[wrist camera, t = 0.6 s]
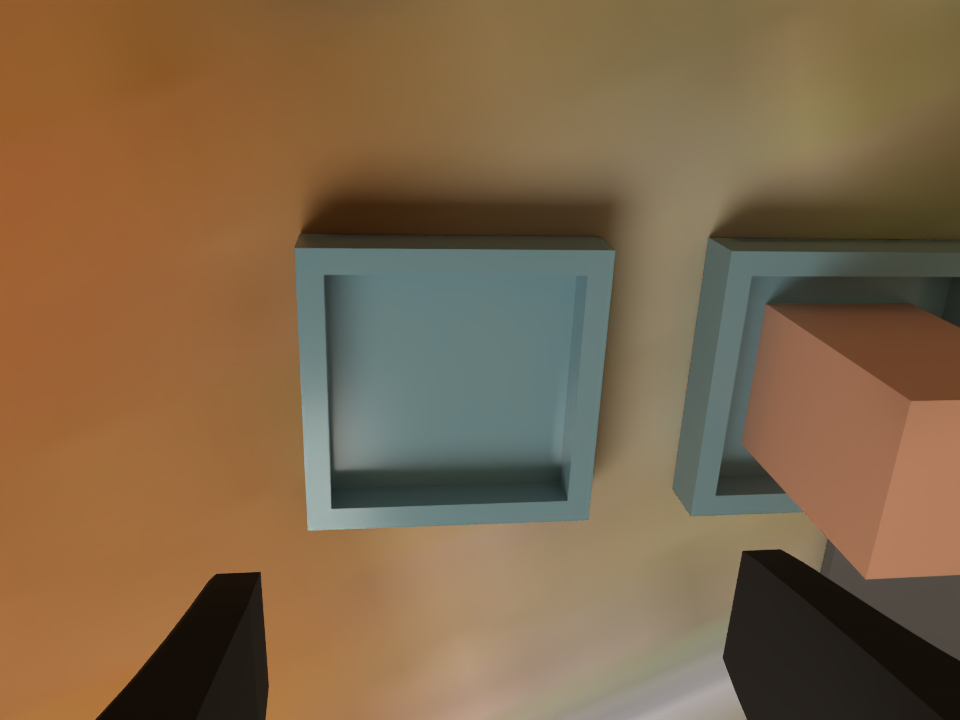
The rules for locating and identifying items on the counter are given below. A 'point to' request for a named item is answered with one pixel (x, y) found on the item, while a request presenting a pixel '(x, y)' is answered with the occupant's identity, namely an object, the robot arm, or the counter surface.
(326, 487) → the dish
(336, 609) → the counter surface
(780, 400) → the brown rectangular block
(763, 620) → the robot arm
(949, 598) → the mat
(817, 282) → the dish
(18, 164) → the counter surface
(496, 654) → the counter surface
